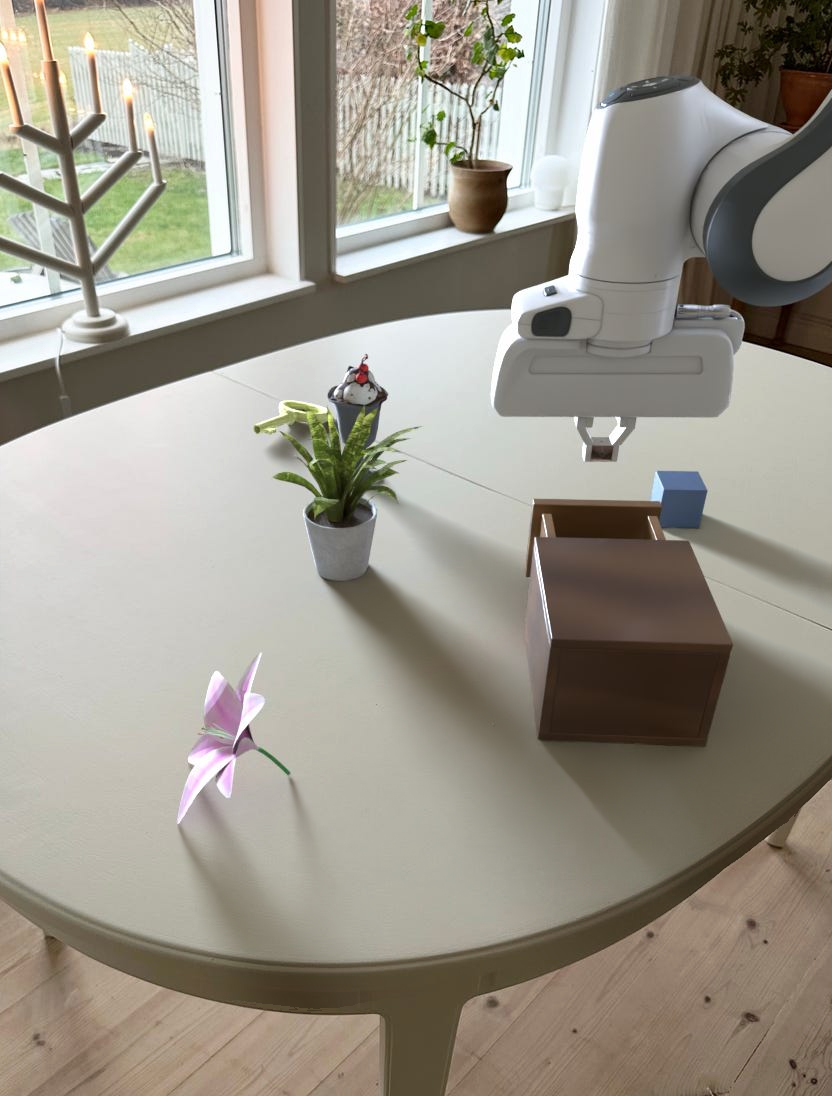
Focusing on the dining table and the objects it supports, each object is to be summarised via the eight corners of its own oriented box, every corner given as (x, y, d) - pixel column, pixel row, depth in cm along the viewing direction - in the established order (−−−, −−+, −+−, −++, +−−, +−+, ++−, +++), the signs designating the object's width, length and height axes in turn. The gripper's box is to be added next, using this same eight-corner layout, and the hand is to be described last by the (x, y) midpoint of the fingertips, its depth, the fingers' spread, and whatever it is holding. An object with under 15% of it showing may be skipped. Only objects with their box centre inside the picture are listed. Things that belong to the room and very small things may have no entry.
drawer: (521, 547, 95) (528, 475, 90) (637, 550, 94) (651, 478, 90) (536, 655, 80) (546, 576, 76) (674, 659, 80) (692, 580, 75)
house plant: (405, 621, 86) (409, 454, 77) (257, 607, 88) (243, 443, 79) (424, 543, 98) (429, 389, 88) (292, 532, 100) (284, 381, 90)
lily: (236, 716, 77) (165, 646, 71) (359, 706, 71) (292, 627, 65) (185, 852, 71) (101, 786, 65) (315, 853, 64) (236, 781, 58)
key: (251, 442, 118) (250, 426, 117) (285, 406, 128) (284, 390, 127) (306, 449, 117) (306, 432, 115) (336, 411, 126) (336, 396, 125)
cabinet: (524, 630, 85) (534, 536, 79) (668, 635, 84) (689, 540, 78) (537, 740, 73) (551, 639, 67) (705, 746, 72) (733, 644, 67)
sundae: (371, 495, 106) (370, 363, 98) (319, 483, 109) (314, 353, 100) (398, 472, 111) (400, 344, 102) (347, 460, 114) (345, 335, 105)
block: (690, 508, 103) (698, 471, 100) (699, 528, 99) (707, 490, 97) (648, 507, 103) (655, 470, 101) (656, 527, 100) (663, 489, 97)
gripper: (739, 293, 80) (708, 445, 89) (495, 294, 82) (486, 444, 90) (760, 316, 75) (724, 475, 83) (499, 317, 77) (489, 473, 85)
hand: (599, 459), depth 87 cm, fingers closed
